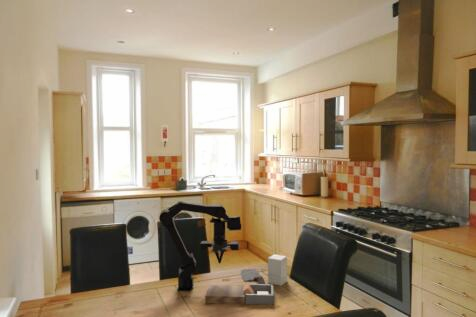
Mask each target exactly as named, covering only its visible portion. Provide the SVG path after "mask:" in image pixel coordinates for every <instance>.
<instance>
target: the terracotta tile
mask: <svg viewBox="0 0 476 317" xmlns="http://www.w3.org/2000/svg"><path fill="white" fill-rule="evenodd" d="M249 284H250V283H246V284H245V285H243V286H244V289H243V291H244V293H245V294H255V293H254V291H253V290H252V288H251V287H250V285H249Z"/></svg>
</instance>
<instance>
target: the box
mask: <svg viewBox="0 0 476 317" xmlns="http://www.w3.org/2000/svg"><path fill="white" fill-rule="evenodd" d="M248 284H249V285H250V287H251V288H252V290H253V291H254V294H246V296H245V304H246V305H267V306H268V305H270V306H271V305H272V306H274V305H275V304H274V302H275V300H274V298H275V294H274V293H275V292H274V284H271V283H267V284H266V283H265V284H258V283H248ZM257 291H268V293H269V294H257Z"/></svg>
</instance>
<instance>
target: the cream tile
mask: <svg viewBox="0 0 476 317" xmlns="http://www.w3.org/2000/svg"><path fill="white" fill-rule="evenodd" d="M256 294H269V293H268V291H257V293H256Z"/></svg>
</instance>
